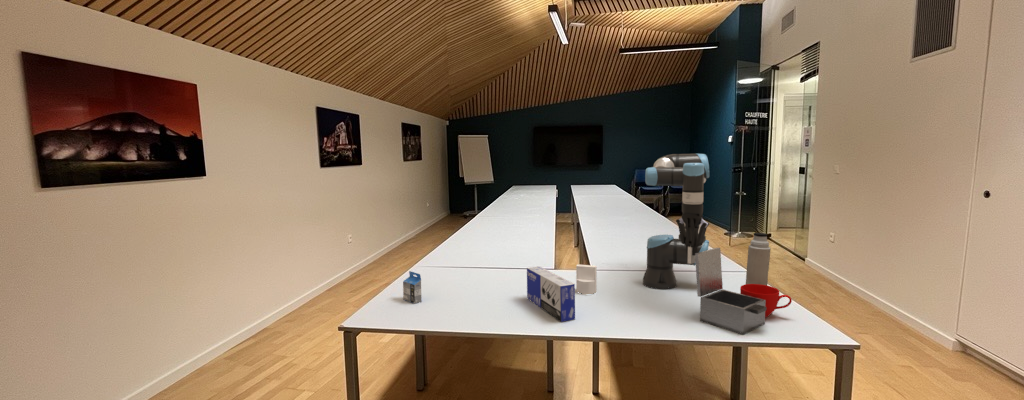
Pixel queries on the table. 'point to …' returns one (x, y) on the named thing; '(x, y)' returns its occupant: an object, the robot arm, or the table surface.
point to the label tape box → (412, 288)
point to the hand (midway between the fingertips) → (691, 262)
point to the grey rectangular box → (732, 311)
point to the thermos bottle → (758, 260)
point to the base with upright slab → (586, 279)
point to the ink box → (551, 293)
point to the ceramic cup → (765, 296)
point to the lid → (708, 271)
